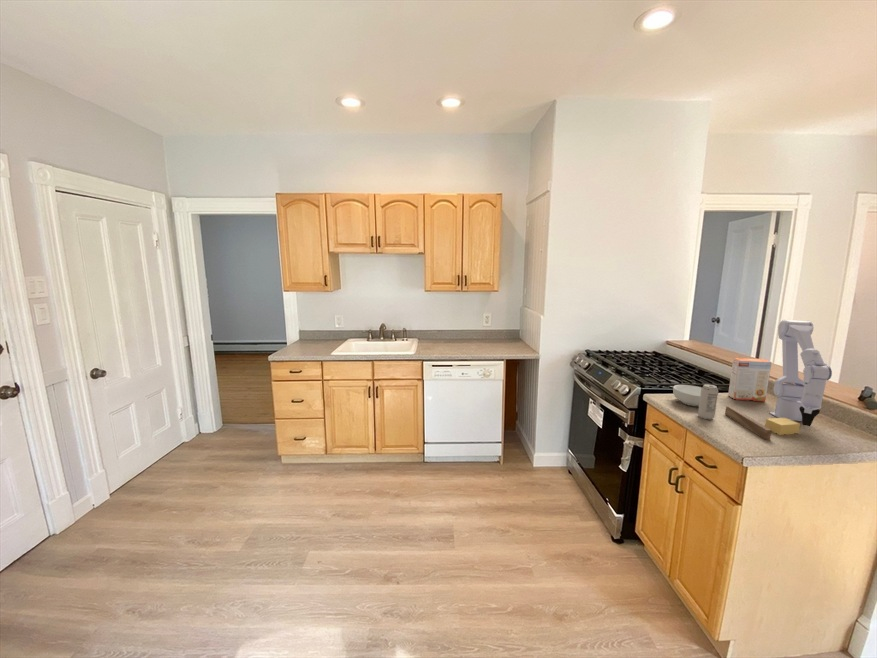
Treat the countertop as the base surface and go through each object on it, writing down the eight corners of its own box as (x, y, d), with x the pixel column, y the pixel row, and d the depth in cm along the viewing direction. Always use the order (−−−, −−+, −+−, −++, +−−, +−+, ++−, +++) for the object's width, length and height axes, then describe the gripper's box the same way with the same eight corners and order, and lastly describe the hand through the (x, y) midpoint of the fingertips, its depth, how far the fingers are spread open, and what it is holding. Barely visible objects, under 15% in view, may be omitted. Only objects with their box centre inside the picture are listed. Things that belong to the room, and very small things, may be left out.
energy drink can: (707, 414, 165) (711, 383, 162) (717, 420, 159) (722, 388, 156) (694, 414, 165) (698, 383, 162) (704, 420, 159) (708, 388, 156)
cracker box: (758, 397, 185) (764, 358, 181) (765, 402, 179) (772, 362, 176) (726, 395, 188) (732, 357, 184) (733, 399, 183) (739, 360, 179)
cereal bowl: (720, 411, 168) (722, 397, 167) (680, 408, 172) (682, 394, 170) (701, 398, 185) (703, 385, 183) (666, 396, 188) (667, 383, 187)
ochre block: (782, 427, 153) (784, 417, 152) (798, 433, 147) (800, 423, 146) (764, 428, 152) (766, 418, 151) (779, 435, 146) (781, 425, 145)
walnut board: (729, 414, 165) (731, 406, 164) (770, 439, 142) (771, 430, 141) (724, 414, 165) (726, 406, 165) (764, 439, 142) (766, 429, 141)
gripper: (801, 387, 153) (795, 417, 155) (796, 395, 143) (790, 426, 146) (825, 392, 147) (819, 422, 150) (821, 400, 138) (814, 433, 141)
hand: (806, 425), depth 147 cm, fingers closed
